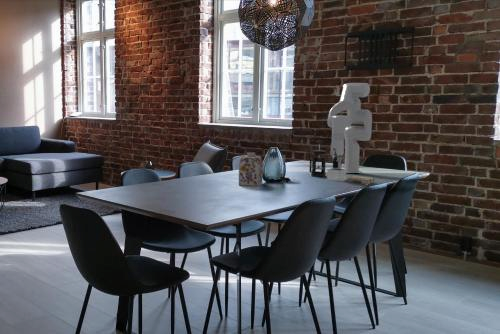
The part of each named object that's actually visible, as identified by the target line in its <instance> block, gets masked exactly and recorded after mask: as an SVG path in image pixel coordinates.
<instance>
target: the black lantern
mask: <svg viewBox="0 0 500 334" xmlns="http://www.w3.org/2000/svg"><path fill="white" fill-rule="evenodd" d="M316 143H318V149H314V150H312V155H316V156H320V155H326V153H327V150H323V149H321V147H320V145H321V143H323V140H316ZM317 162H318V164H317ZM320 162H321V166H320ZM326 162H327V158H323V157H310V158H309V173H310V175H311V177H313V178H327V172H326ZM317 170H320V171H317Z"/></svg>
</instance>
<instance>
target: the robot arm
mask: <svg viewBox="0 0 500 334" xmlns="http://www.w3.org/2000/svg"><path fill="white" fill-rule="evenodd" d="M370 91H371V87H370V84H369V83H368V82H346V83H344V84H343V85H342V90H341V94H340V98H339V101H338V102H337V103H336V104H334V105H332V107H331V109H330V110H329V113H328V116H327V120H326V121H327V123H326V124H327V126H328V127H329V128H331V143H330V152H329V153H330V156H331V158H332V168H338V156H340V155H342V156H341V165H343V164H342V162H343V156H344V168H343V169H347V170H346V173H359V172H361V173H362V171H361V170H360V149H361V148H360V144H359V143H358V142H357V141H362V142H364V141H366V142H367V141H370V140H371V138H372V127H373V126H372V123H373V115H372V114H373V113H372V112H371V110H369V109H362V108H361V105H362V102H361V100H360V98H365V97H368V96H369V94H370ZM345 111H347V112H346V114H347V115H339V113H342V112H345ZM352 124H354V125H352ZM335 155H337V156H335ZM336 157H337V158H336Z"/></svg>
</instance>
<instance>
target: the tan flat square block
mask: <svg viewBox="0 0 500 334" xmlns="http://www.w3.org/2000/svg"><path fill="white" fill-rule="evenodd" d="M346 179H347V180H346V181H347V183H355V184H362V185H364V184H369V183H372V182H374V183H375V177H368V176H358V175H356V176H355V175H354V176H352V177H348V178H347V177H346Z"/></svg>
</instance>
